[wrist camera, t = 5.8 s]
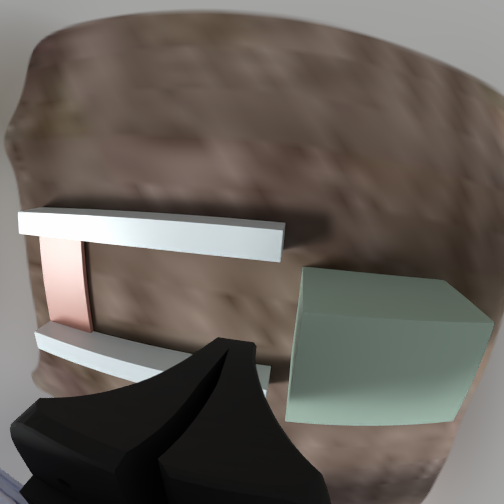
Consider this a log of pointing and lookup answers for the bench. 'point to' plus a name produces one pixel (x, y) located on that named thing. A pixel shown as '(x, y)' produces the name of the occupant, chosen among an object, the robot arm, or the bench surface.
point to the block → (382, 349)
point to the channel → (137, 235)
